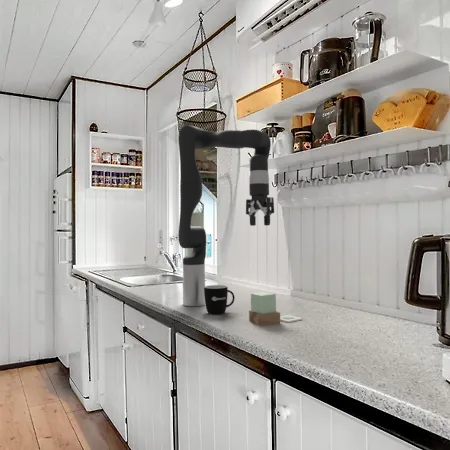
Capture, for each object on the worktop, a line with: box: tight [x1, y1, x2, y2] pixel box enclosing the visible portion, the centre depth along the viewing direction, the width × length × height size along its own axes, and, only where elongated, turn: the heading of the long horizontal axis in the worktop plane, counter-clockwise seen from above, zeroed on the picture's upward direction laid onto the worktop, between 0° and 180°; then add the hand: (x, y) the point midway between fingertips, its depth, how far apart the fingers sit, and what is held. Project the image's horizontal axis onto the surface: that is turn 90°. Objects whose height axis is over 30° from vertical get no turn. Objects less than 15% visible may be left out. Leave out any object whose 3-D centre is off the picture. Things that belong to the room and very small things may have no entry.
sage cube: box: [250, 291, 277, 314], centre depth 147 cm, size 6×6×6 cm
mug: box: [204, 284, 236, 316], centre depth 164 cm, size 12×9×10 cm
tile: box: [280, 314, 303, 323], centre depth 150 cm, size 7×7×1 cm
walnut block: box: [248, 309, 281, 327], centre depth 147 cm, size 8×8×4 cm
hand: (259, 225), depth 164 cm, fingers open, 8 cm apart
